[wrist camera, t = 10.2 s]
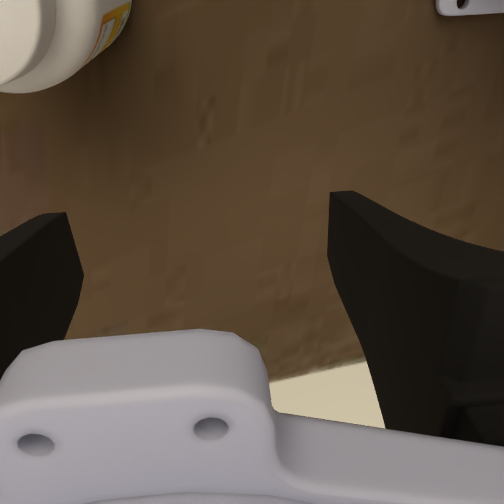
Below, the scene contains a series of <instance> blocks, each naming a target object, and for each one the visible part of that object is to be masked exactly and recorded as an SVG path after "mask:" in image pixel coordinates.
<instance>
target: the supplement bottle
mask: <svg viewBox="0 0 504 504" xmlns="http://www.w3.org/2000/svg"><path fill="white" fill-rule="evenodd" d="M131 3H132V0H0V92H6V93H30V92H36V91H40V90H44V89H47V88H49V87H52V86H54V85H57V84H59V83H61V82H62V81H64V80H66V79H68V78H69V77H71V76H72V75H73V74H75V73H76V72H77V71H78V70H80V69H81V68H82V67H83V66H84V65H86V64H87V63H88V62H89V61H90V60H92V59H93V58H94V57H96V56H97V55H98V54H99V53H101V52H102V51H103V50H104V49H106V48H107V47H108V46H109V45H110V44H111V43H112V42H113V41H114V40H115V39H116V38H117V37H118V36H119V34H120V33H121V31H122V30H123V28H124V26H125V24H126V22H127V19H128V16H129V13H130V9H131Z"/></svg>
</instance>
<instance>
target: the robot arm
mask: <svg viewBox="0 0 504 504" xmlns="http://www.w3.org/2000/svg"><path fill="white" fill-rule="evenodd" d="M456 2H457V0H436V10H437V12H438V13H439V14H441V15H444V16H460V15H476V14H491V13H504V0H465V2H464V5H463V6H462V7H461V8H458V7H457V3H456ZM327 256H328V260H329V265H330V269H331V272H332V276H333V280H334V283H335V286H336V288H337V290H338V293H339V295H340V297H341V300H342V302H343V304H344V307H345V309H346V311H347V314H348V316H349V318H350V320H351V323H352V325H353V327H354V330H355V332H356V334H357V336H358V339H359V341H360V344H361V346H362V349H363V351H364V354H365V357H366V361H367V364H368V367H369V370H370V374H371V377H372V380H373V384H374V387H375V391H376V395H377V398H378V402H379V406H380V409H381V413H382V416H383V420H384V424H385V428H386V429H384V428H377V427H370V426H364V425H357V424H351V423H344V422H338V421H331V420H325V419H318V418H311V417H305V416H299V415H292V414H286V413H279V412H277V411H275V410H274V409H273V407H272V404H271V396H270V389H269V381H268V373H267V369H266V366H265V364H264V362H263V360H262V357H261V355H260V353H259V350H258V348H257V347H255V346H253V345H252V344H250V343H249V342H247V341H245V340H244V339H242V338H241V337H239V336H237V335H236V334H234V333H232V332H223V331H215V330H206V329H190V330H178V331H166V332H154V333H142V334H131V335H119V336H107V337H95V338H83V339H71V340H64V338H65V335H66V333H67V330H68V328H69V325H70V323H71V320H72V318H73V315H74V313H75V310H76V307H77V305H78V301H79V296H80V292H81V287H82V282H83V277H84V273H83V270H82V266H81V263H80V259H79V256H78V252H77V249H76V246H75V242H74V239H73V235H72V232H71V228H70V225H69V221H68V218H67V215H66V212H61V213H48V214H41V215H39V216H36V217H34V218H32V219H30V220H28V221H27V222H25V223H23V224H21V225H19V226H18V227H16V228H14V229H13V230H11V231H9V232H7V233H6V234H4V235H2V236H1V237H0V504H504V252H503V251H498V250H494V249H490V248H486V247H482V246H478V245H474V244H471V243H467V242H464V241H461V240H457V239H455V238H452V237H449V236H446V235H443V234H440V233H438V232H435V231H433V230H430V229H428V228H425V227H423V226H421V225H419V224H416V223H414V222H412V221H410V220H408V219H406V218H404V217H402V216H400V215H398V214H396V213H394V212H392V211H390V210H388V209H387V208H385V207H383V206H381V205H379V204H378V203H376V202H374V201H372V200H370V199H369V198H367V197H365V196H363V195H361V194H359V193H357V192H354V191H340V192H330V201H329V225H328V249H327Z"/></svg>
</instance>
